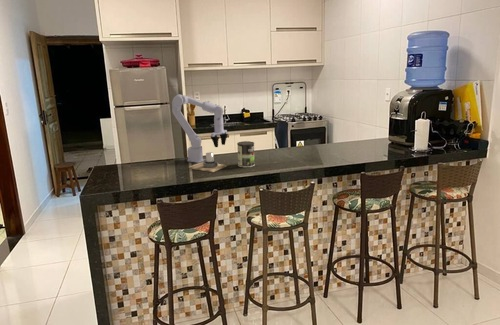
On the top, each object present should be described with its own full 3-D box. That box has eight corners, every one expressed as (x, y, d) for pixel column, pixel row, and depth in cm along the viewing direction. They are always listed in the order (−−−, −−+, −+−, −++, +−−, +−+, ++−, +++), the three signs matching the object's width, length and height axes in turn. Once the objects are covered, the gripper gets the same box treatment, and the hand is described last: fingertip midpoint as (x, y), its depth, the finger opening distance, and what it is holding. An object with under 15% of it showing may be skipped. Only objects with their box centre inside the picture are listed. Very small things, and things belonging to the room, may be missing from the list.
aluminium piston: (205, 166, 221) (204, 153, 218) (210, 164, 224) (209, 152, 222) (210, 167, 218) (209, 154, 216) (215, 165, 222) (214, 152, 220)
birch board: (189, 168, 221) (188, 166, 221) (203, 162, 233) (203, 161, 233) (212, 172, 212) (212, 170, 212) (226, 166, 223) (226, 164, 223)
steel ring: (200, 167, 220) (200, 163, 219) (209, 163, 227) (209, 159, 226) (211, 168, 215) (211, 164, 215) (220, 165, 222) (220, 161, 222)
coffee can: (257, 164, 227) (257, 142, 223) (249, 168, 218) (248, 145, 215) (243, 162, 232) (243, 140, 228) (234, 166, 224) (233, 143, 220)
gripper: (217, 127, 225) (218, 148, 229) (230, 123, 237) (231, 144, 240) (208, 126, 229) (209, 147, 232) (221, 123, 241) (222, 143, 244)
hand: (219, 145), depth 237 cm, fingers open, 7 cm apart
